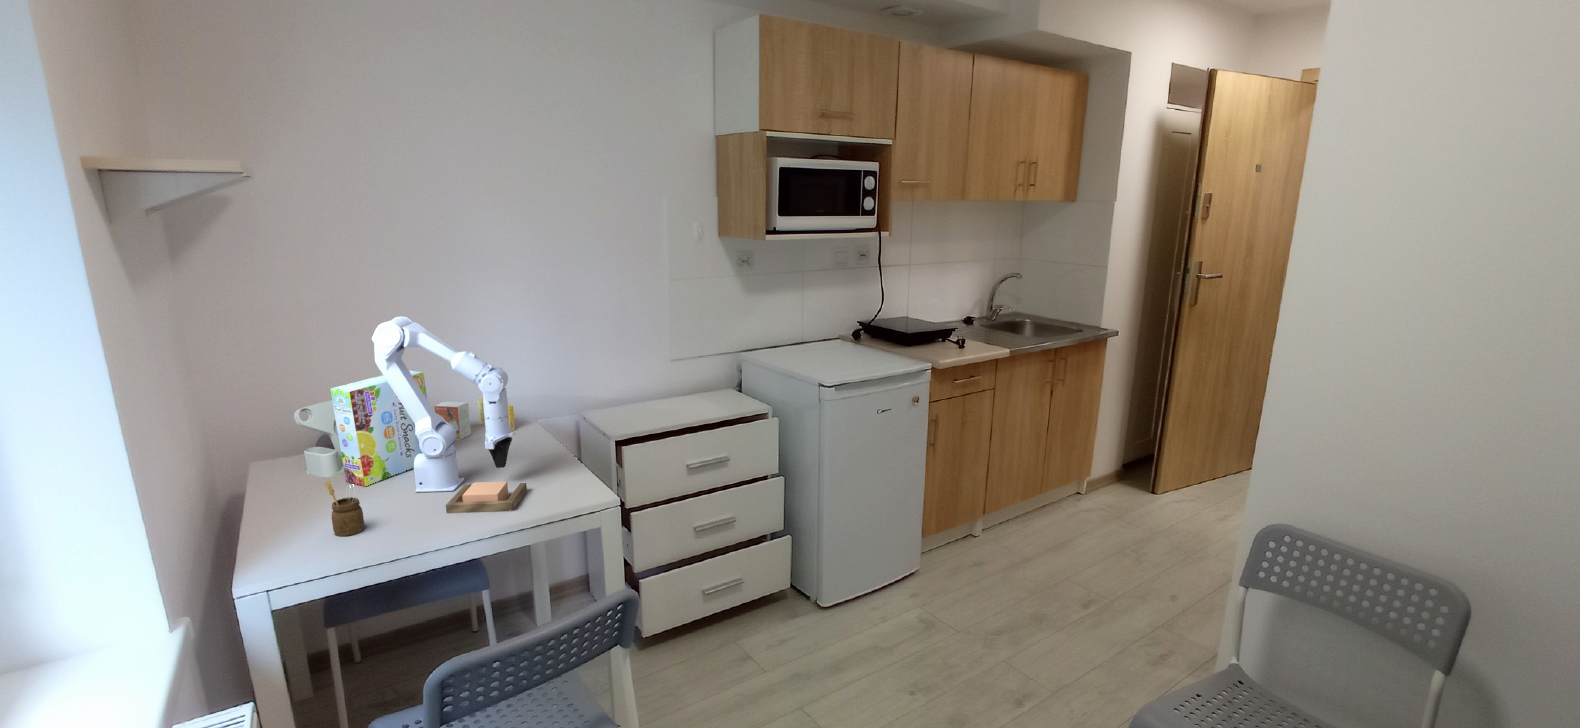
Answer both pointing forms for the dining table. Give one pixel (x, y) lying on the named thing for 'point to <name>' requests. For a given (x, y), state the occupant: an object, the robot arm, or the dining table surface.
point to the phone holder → (322, 458)
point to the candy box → (482, 419)
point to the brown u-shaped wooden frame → (484, 502)
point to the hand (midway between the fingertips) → (500, 466)
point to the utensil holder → (346, 514)
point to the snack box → (374, 430)
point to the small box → (455, 416)
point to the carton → (486, 492)
